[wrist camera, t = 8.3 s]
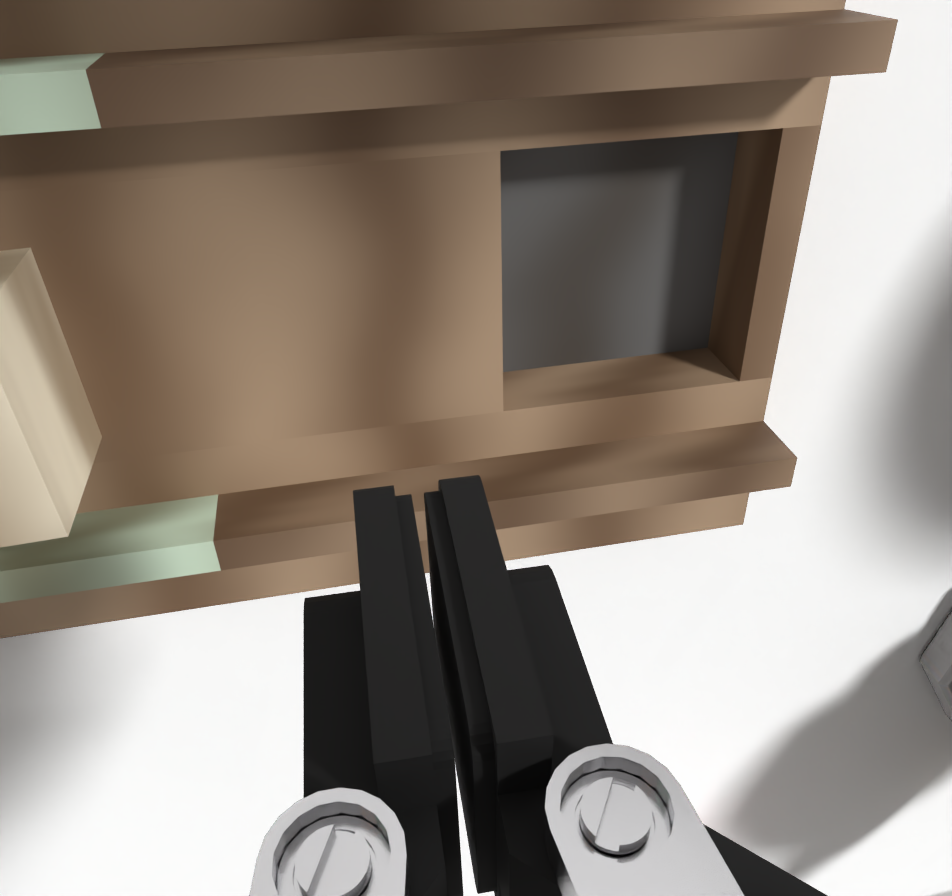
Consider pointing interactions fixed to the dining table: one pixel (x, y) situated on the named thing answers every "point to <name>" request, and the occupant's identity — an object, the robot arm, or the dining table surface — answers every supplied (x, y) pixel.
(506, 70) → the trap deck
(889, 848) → the dining table surface
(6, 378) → the block
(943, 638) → the tankard
